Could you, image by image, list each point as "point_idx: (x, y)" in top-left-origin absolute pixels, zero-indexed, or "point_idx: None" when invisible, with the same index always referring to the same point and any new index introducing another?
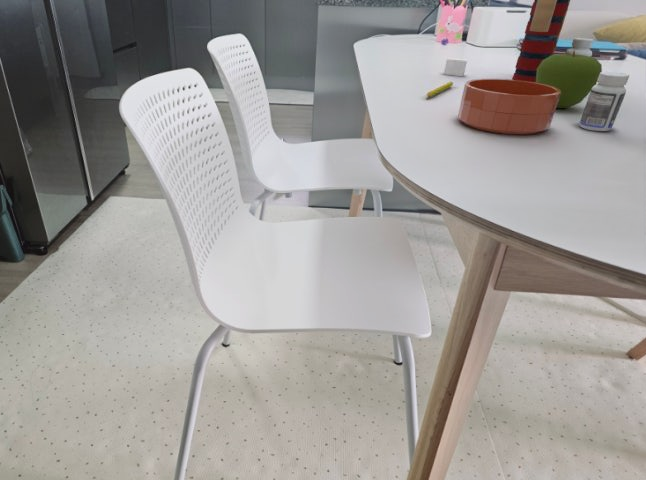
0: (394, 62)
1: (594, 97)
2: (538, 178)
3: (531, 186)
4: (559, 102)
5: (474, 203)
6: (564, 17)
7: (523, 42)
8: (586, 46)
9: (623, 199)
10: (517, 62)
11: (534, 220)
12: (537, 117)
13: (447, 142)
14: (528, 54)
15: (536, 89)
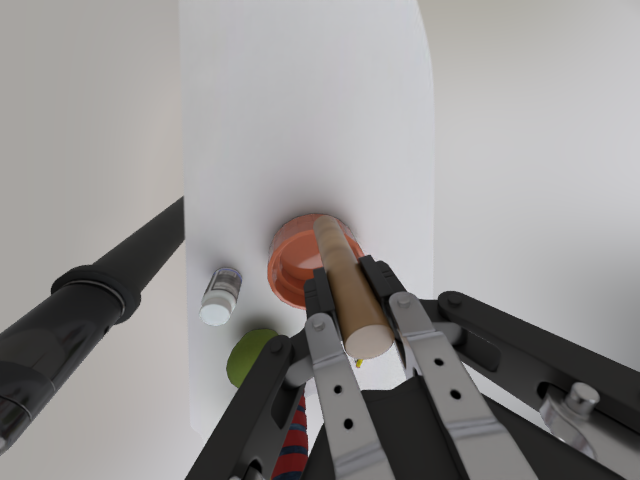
0: None
1: (232, 289)
2: (280, 57)
3: (288, 19)
4: (261, 329)
5: None
6: None
7: (305, 423)
8: None
9: (195, 10)
10: (304, 402)
11: None
12: (285, 229)
13: (367, 160)
14: (297, 408)
15: (289, 297)
